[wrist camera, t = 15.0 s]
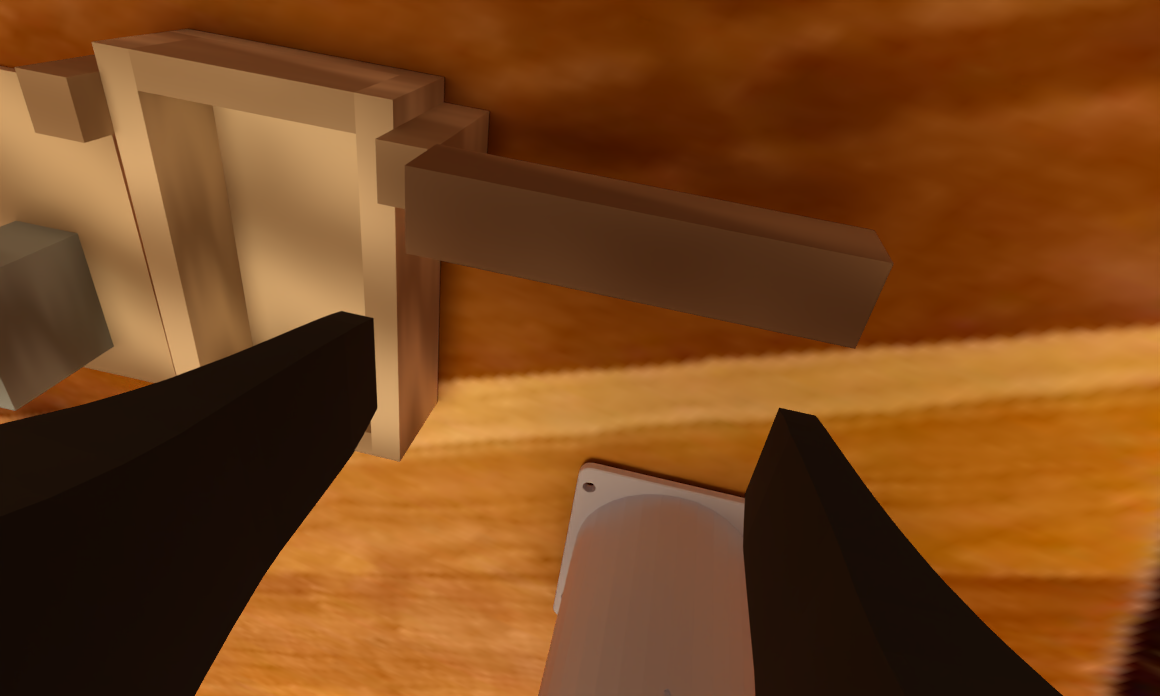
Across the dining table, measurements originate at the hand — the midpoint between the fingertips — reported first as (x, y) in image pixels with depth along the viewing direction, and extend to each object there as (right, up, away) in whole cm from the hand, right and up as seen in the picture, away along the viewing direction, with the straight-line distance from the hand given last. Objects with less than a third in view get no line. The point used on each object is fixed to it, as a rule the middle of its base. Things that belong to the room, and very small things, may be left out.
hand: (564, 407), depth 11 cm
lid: (-19, +5, +13) cm, 24 cm away
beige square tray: (-8, +5, +11) cm, 14 cm away
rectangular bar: (+2, +4, +4) cm, 6 cm away
